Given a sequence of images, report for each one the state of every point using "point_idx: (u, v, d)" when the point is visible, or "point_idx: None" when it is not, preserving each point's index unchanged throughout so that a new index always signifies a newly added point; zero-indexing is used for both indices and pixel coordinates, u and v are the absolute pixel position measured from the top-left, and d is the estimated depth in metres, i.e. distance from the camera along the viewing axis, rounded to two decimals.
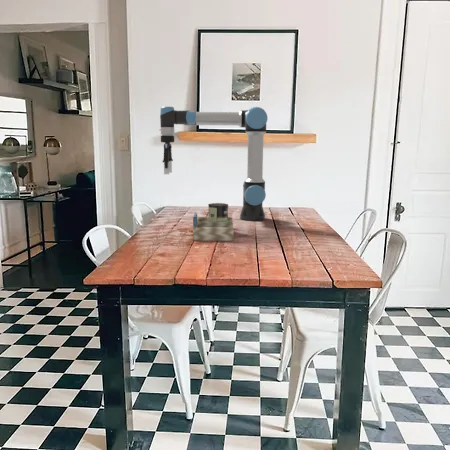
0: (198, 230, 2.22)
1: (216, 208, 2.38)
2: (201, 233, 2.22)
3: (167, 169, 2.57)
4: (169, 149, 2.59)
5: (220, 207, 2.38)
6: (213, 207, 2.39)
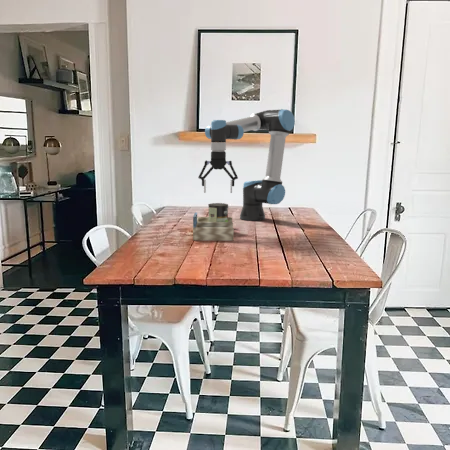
0: (198, 230, 2.22)
1: (216, 208, 2.38)
2: (201, 233, 2.22)
3: (204, 187, 2.41)
4: None
5: (220, 207, 2.38)
6: (213, 207, 2.39)
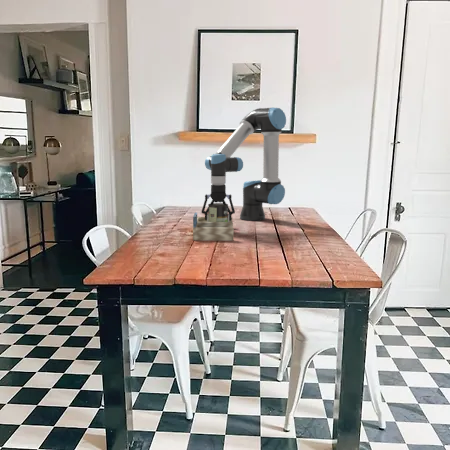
0: (198, 230, 2.22)
1: (216, 208, 2.38)
2: (201, 233, 2.22)
3: (207, 221, 2.44)
4: (212, 200, 2.41)
5: (220, 207, 2.38)
6: (213, 207, 2.39)
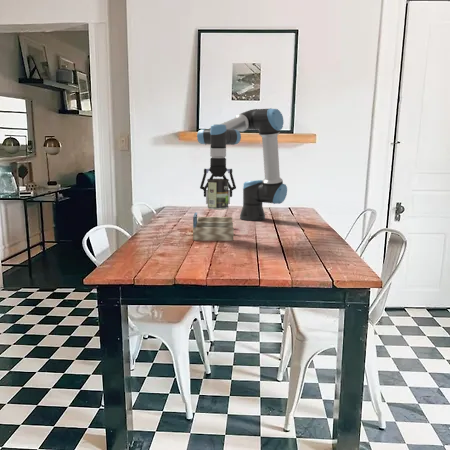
0: (198, 230, 2.22)
1: (216, 183, 2.21)
2: (201, 233, 2.22)
3: (206, 198, 2.26)
4: None
5: (220, 182, 2.21)
6: (212, 182, 2.21)
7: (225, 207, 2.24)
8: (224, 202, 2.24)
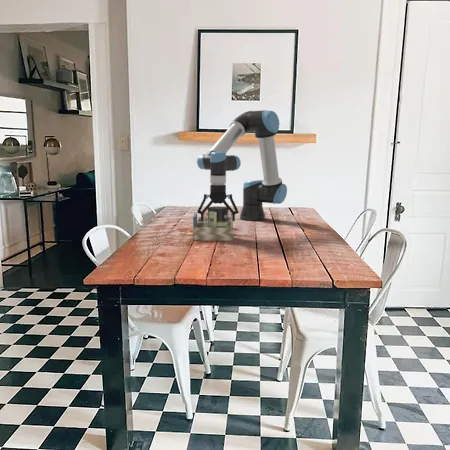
0: (198, 230, 2.22)
1: (216, 212, 2.23)
2: (201, 233, 2.22)
3: (203, 222, 2.29)
4: (211, 200, 2.26)
5: (220, 211, 2.23)
6: (213, 211, 2.24)
7: None
8: None
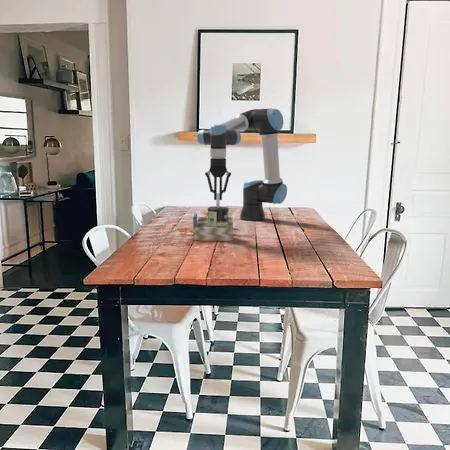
0: (198, 230, 2.22)
1: (216, 212, 2.23)
2: (201, 233, 2.22)
3: (216, 201, 2.27)
4: (214, 176, 2.24)
5: (220, 211, 2.23)
6: (213, 211, 2.24)
7: None
8: None
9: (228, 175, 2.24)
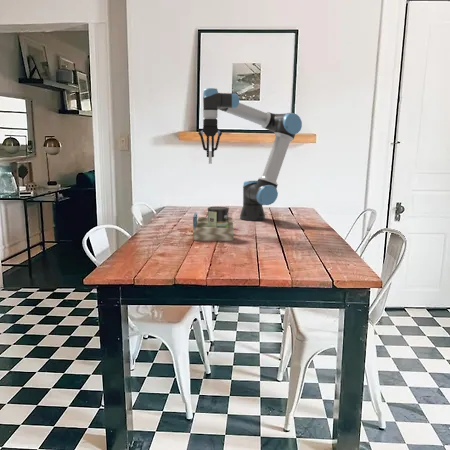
0: (198, 230, 2.22)
1: (216, 212, 2.23)
2: (201, 233, 2.22)
3: None
4: (206, 135, 2.48)
5: (220, 211, 2.23)
6: (213, 211, 2.24)
7: None
8: None
9: (219, 134, 2.48)
